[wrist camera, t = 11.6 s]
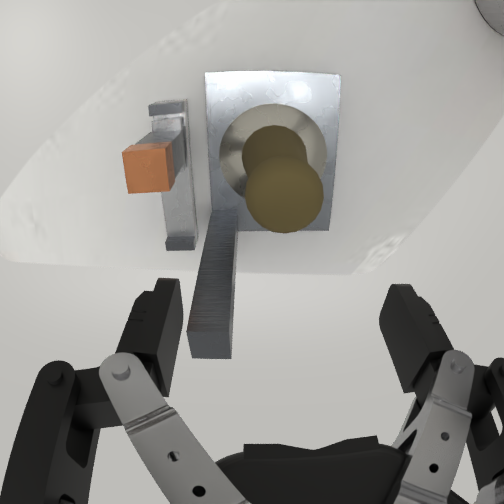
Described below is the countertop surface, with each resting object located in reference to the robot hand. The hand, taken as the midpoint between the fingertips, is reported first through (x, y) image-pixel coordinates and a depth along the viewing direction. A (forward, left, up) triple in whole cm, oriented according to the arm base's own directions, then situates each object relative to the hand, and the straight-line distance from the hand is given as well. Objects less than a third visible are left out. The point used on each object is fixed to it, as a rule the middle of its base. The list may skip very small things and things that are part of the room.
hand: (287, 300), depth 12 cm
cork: (0, +1, -20) cm, 20 cm away
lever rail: (+2, -9, -22) cm, 24 cm away
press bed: (0, +1, -22) cm, 22 cm away
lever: (-1, -9, -20) cm, 22 cm away
